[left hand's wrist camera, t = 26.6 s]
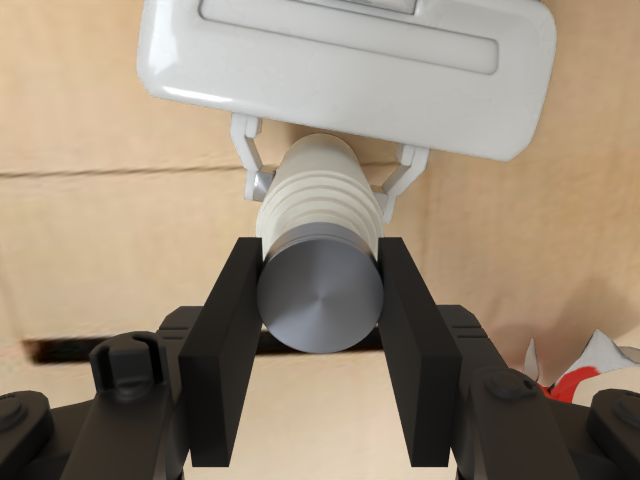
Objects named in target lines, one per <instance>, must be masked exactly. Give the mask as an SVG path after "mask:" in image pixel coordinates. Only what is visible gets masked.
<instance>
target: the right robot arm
mask: <svg viewBox="0 0 640 480" xmlns="http://www.w3.org/2000/svg"><path fill="white" fill-rule="evenodd" d="M556 45H557V30H556V24H555V20H554V18H553V15H552V13H551V12H550V10H549V9H548V8H547V6H546V5H545V4H543V3H542V2H541V1H540V0H144V4H143V10H142V16H141V23H140V30H139V39H138V49H137V61H136V72H137V75H138V78H139V79H140V81H141V82H142V84H143V86H144V87H145V89H146V90H147V92H148V93H149V95H150V96H152V97H154V98H157V99H163V100H168V101H174V102H179V103H184V104H190V105H195V106H201V107H206V108H212V109H217V110H223V111H228V112H232V118H231V127H230V136H231V139H232V141H233V143H234V145H235V148H236V150H237V152H238V155H239V157H240V159H241V161H242V164H243V166H244V168H245V169H247V175H246V183H245V191H244V199H246V200H250V201H258V202H263V201H264V199H265V196H266V194H267V192H268V190H269V188H270V186H271V184H272V181H273V179H274V177H275V175H276V169H277V168H272V167H267V166H263V164H262V161H261V159H260V156H259V154H258V151H257V148H256V146H255V143H254V141H253V138H255V137H256V136H257V135H259V134H260V133H261V130H262V123H263V118H266V119H272V120H277V121H283V122H288V123H294V124H299V125H305V126H310V127H316V128H321V129H327V130H332V131H337V132H343V133H348V134H354V135H359V136H365V137H370V138H376V139H381V140H387V141H392V142H397V147H396V151H395V158H396V159H397V160H398V161H399V162H400V163H401V164H400V165H399V167H398V168H397V169H396V170H395V171H394V172H393V173H392V175H391V176H390V177H389V178H388V179H387V180H386V181H385V183H384V184H383V185H382V187H381V186H374V185H370V188H371V190H372V192H373V194H374V196H375V198H376V200H377V202H378V205H379V207H380V209H381V212H382V215H383V219H384V223H385V224H389V223H390V221H391V219H392V215H393V211H394V207H395V203H396V199H397V196H400V195H401V194H402V193H403V192H404V191H405V190H406V189H407V188H408V187H409V186H410V185H411V184H412V183H413V182H414V181H415V179H416V178H417V177H418V176H419V175H420V174H421V173H422V172H423V171H424V170H425V167H426V164H427V160H428V156H429V152H430V149H436V150H441V151H447V152H452V153H458V154H463V155H469V156H474V157H479V158H485V159H490V160H496V161H502V162H508V161H510V160H512V159H513V158H515V157H516V156H517V155H518V154H520V153H521V152H522V151H523V150H524V149H526V148H527V147H528V145H529V144H530V142H531V140H532V138H533V136H534V133H535V130H536V127H537V124H538V121H539V118H540V115H541V111H542V108H543V105H544V101H545V97H546V94H547V90H548V85H549V81H550V77H551V73H552V68H553V63H554V58H555V53H556Z"/></svg>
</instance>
